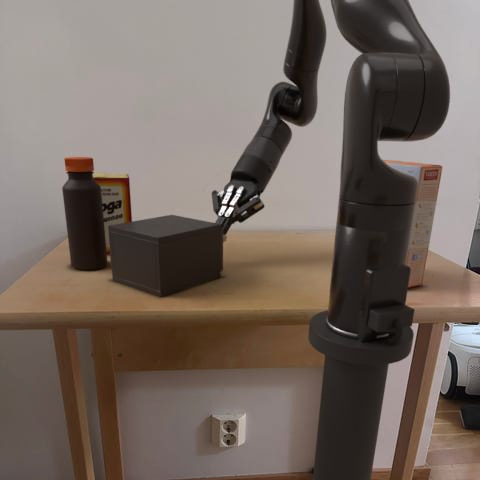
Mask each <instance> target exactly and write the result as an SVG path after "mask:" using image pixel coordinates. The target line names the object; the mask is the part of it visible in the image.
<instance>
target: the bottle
mask: <svg viewBox="0 0 480 480" xmlns="http://www.w3.org/2000/svg"><path fill="white" fill-rule="evenodd" d="M94 164H95V163H94V158H93V157H88V156H70V157H65V158H64V167H65V172H66V174H67V178H68V179H67V180H66V182H65V183H64V184H63V186H62V188H61V189H62V198H63V208H64V215H65V216H64V217H65V224H66V231H67V233H66V234H67V241H68V249H69V259H70V266H71V267H72V268H73V269H75V270H78V271H94V270H99V269H100V270H101V269H103V268H105V267H106V266H108V254H107V251H106V240H105V228H104V217H103V205H102V194H101V187H100V185H99V184H98V183H97V182H96V181H95V180H94V179H93V174H94V173H95V172H94V171H95V165H94Z"/></svg>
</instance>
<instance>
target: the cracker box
mask: <svg viewBox="0 0 480 480" xmlns="http://www.w3.org/2000/svg"><path fill="white" fill-rule="evenodd" d="M382 160H383V161H384V162H385V163H386V164H388V165H389V166H391V167H392V168H394V169H396V170H399V171H401V172H404V173H406V174H409V175H411V176H413V177H415V178H416V180H417V182H418V191H417V198H416V202H415V209H414V216H413V222H412V227H411V234H410V240H409V247H408V253H407V259H406V265H407V266H409V267H410V268H411V272H410V278H409V285H408V289H409V288H413V287H418V286H422V285H423V282H424V276H425V270H426V265H427V259H428V254H429V248H430V243H431V236H432V230H433V226H434V225H433V224H434V219H435V213H436V206H437V201H438V195H439V189H440V185H441V177H442V172H443V165H441V164H431V163H420V162H412V161H401V160H391V159H382Z"/></svg>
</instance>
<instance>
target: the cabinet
mask: <svg viewBox="0 0 480 480" xmlns="http://www.w3.org/2000/svg"><path fill="white" fill-rule="evenodd" d="M108 231H109V243H110V254H109V255H110V266H111V275H112V277H111V279H112V281H114V282H117V283H120V284H123V285H125V286H128V287H131V288H134V289H136V290H140V291H143V292H146V293H149V294H152V295H155V296H157V297H159V298H162V297H164V296H168V295H171V294H174V293H177V292H180V291H182V290H186V289H189V288H193V287H196V286H199V285H201V284H204V283H207V282H210V281H213V280H216V279H219V278H222V271H221V224H217V223H215V222H211V221H207V220H201V219H196V218H191V217H186V216H181V215H176V214H169V215H161V216H157V217H150V218H145V219H138V220H134V221H133V220H132V222H127V223H121V224H115V225H109V226H108Z"/></svg>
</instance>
